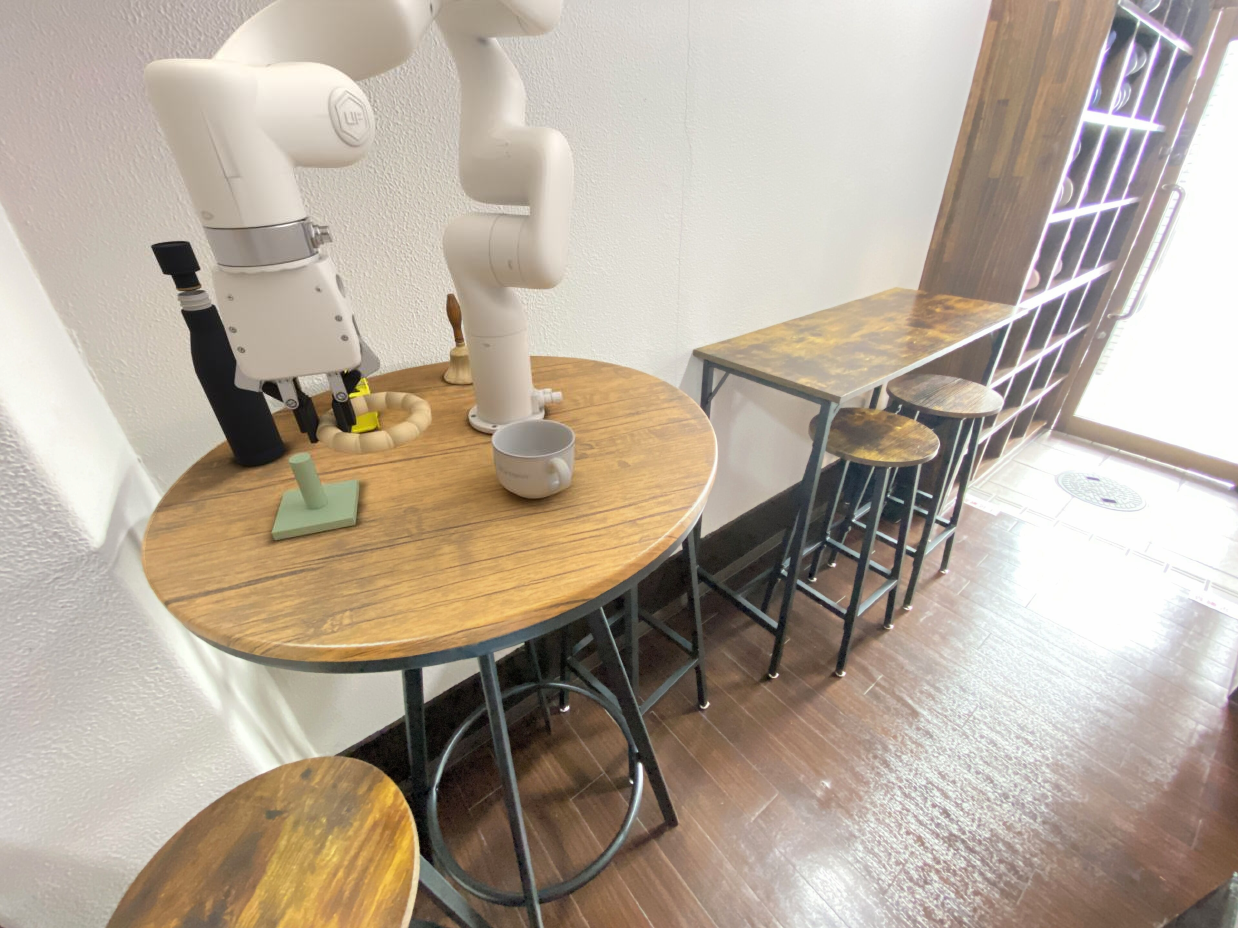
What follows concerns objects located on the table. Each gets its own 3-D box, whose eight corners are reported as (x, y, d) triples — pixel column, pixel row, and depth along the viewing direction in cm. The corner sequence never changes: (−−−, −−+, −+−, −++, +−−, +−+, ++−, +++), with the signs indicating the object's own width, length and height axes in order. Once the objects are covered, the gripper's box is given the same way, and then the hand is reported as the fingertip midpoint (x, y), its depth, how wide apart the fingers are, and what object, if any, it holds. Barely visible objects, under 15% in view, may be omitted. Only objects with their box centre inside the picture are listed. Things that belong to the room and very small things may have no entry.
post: (359, 485, 74) (343, 434, 69) (355, 525, 66) (336, 470, 62) (287, 498, 71) (265, 445, 67) (274, 540, 64) (248, 485, 60)
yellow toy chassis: (336, 400, 96) (321, 356, 91) (369, 394, 98) (357, 351, 94) (345, 440, 84) (329, 392, 80) (383, 431, 86) (370, 384, 82)
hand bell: (465, 388, 100) (451, 303, 92) (435, 378, 104) (418, 296, 95) (496, 373, 106) (485, 292, 97) (466, 364, 110) (453, 285, 101)
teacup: (491, 473, 76) (483, 424, 72) (563, 457, 80) (560, 409, 75) (515, 532, 65) (507, 478, 61) (597, 510, 69) (595, 458, 65)
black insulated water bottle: (264, 468, 77) (168, 250, 61) (226, 464, 78) (122, 248, 62) (295, 446, 83) (214, 239, 66) (259, 442, 84) (171, 237, 67)
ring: (430, 398, 62) (426, 383, 61) (435, 446, 53) (431, 428, 52) (326, 414, 59) (320, 397, 58) (314, 466, 50) (308, 448, 49)
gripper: (369, 230, 50) (413, 406, 60) (167, 243, 45) (252, 430, 56) (365, 246, 44) (415, 438, 54) (133, 263, 39) (235, 468, 50)
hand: (332, 433), depth 55 cm, fingers closed on ring, 2 cm apart
